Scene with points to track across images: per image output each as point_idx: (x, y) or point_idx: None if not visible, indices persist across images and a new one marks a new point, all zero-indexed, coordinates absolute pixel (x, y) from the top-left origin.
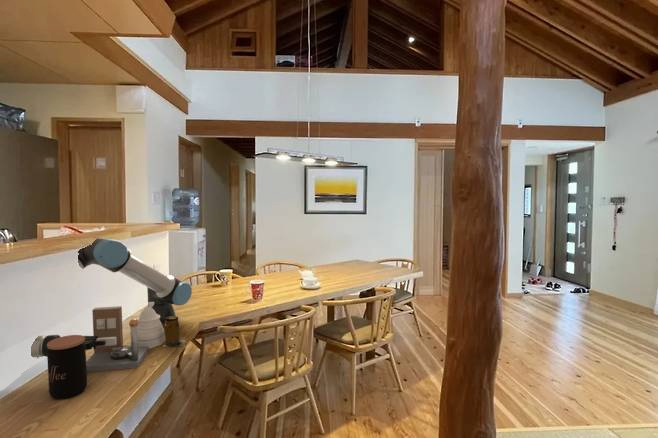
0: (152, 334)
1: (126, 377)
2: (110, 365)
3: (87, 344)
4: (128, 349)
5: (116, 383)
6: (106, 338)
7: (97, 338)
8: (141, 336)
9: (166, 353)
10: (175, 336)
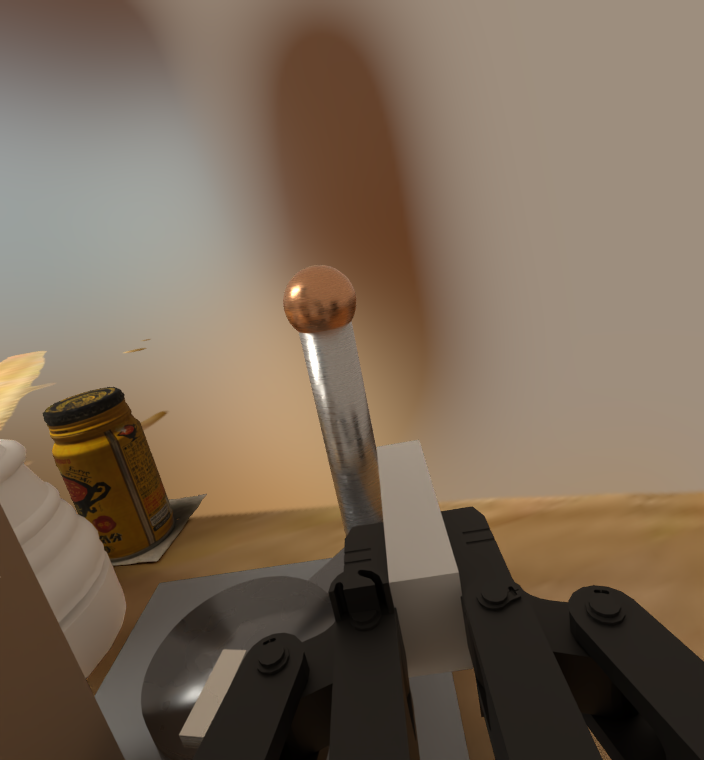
0: (87, 531)
1: (580, 580)
2: (461, 721)
3: (669, 644)
4: (274, 596)
5: (687, 601)
6: (421, 488)
7: (407, 577)
8: (56, 586)
9: (265, 521)
10: (159, 476)
